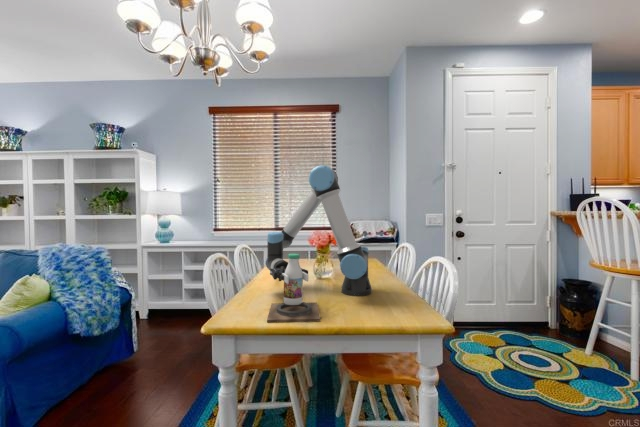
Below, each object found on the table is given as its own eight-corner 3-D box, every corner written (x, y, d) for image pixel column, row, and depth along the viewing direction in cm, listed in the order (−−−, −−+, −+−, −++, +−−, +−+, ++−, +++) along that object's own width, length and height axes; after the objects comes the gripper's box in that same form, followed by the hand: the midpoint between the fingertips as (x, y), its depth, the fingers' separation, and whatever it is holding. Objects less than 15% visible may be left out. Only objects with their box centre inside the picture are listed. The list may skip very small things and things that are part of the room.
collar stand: (317, 304, 140) (317, 299, 139) (320, 321, 120) (320, 314, 120) (271, 305, 138) (271, 299, 138) (266, 322, 118) (266, 315, 118)
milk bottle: (284, 299, 133) (285, 252, 133) (303, 300, 133) (304, 252, 132) (282, 305, 125) (283, 255, 125) (301, 306, 125) (302, 255, 125)
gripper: (301, 274, 149) (321, 285, 128) (258, 278, 141) (272, 291, 120) (301, 258, 149) (321, 267, 128) (258, 261, 141) (272, 271, 120)
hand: (297, 278), depth 124 cm, fingers closed on milk bottle, 8 cm apart
